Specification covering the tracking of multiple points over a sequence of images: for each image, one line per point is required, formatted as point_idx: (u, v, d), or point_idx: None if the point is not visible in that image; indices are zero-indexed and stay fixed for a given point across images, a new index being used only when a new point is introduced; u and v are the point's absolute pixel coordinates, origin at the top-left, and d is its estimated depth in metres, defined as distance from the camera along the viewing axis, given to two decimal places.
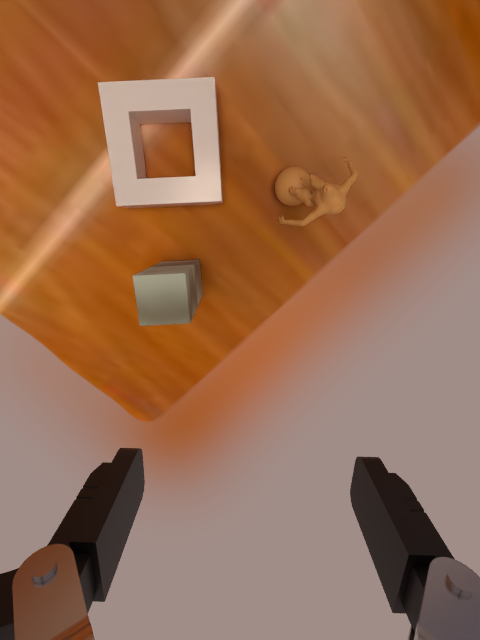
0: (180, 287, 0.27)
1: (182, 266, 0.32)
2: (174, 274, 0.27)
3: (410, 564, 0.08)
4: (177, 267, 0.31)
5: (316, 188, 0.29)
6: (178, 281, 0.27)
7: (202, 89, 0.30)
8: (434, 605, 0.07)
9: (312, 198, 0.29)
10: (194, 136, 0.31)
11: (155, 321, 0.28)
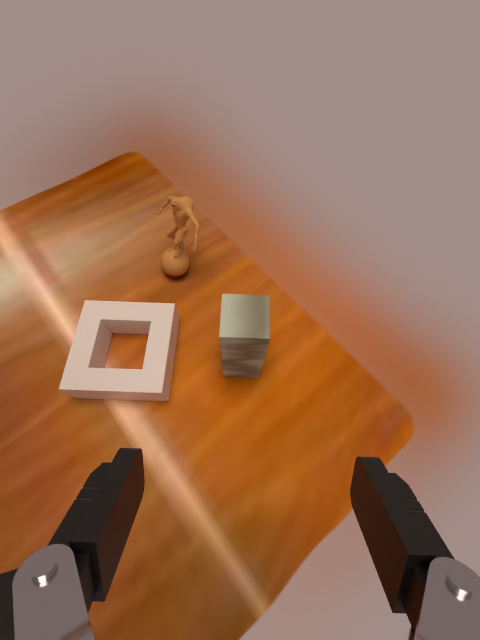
0: (234, 298, 0.30)
1: None
2: (222, 302, 0.29)
3: (410, 564, 0.08)
4: None
5: (176, 227, 0.39)
6: (228, 299, 0.29)
7: (90, 309, 0.38)
8: (434, 605, 0.07)
9: (181, 227, 0.39)
10: (121, 318, 0.37)
11: (266, 324, 0.28)
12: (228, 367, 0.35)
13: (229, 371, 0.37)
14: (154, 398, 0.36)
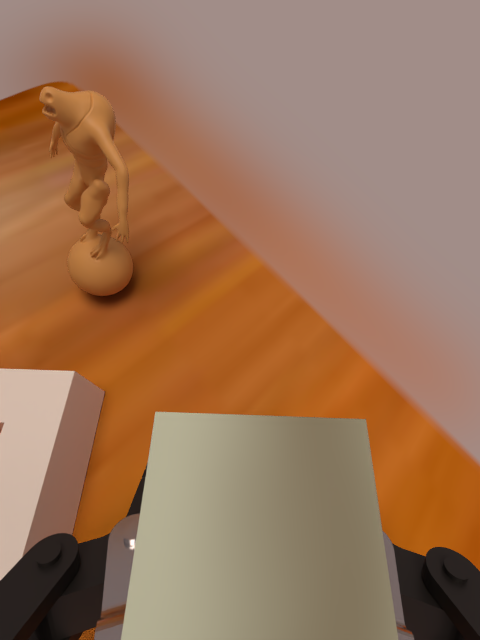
0: (209, 439, 0.06)
1: None
2: (152, 460, 0.06)
3: None
4: None
5: (82, 182, 0.16)
6: (182, 444, 0.06)
7: None
8: None
9: (93, 180, 0.15)
10: None
11: (374, 605, 0.05)
12: None
13: None
14: None
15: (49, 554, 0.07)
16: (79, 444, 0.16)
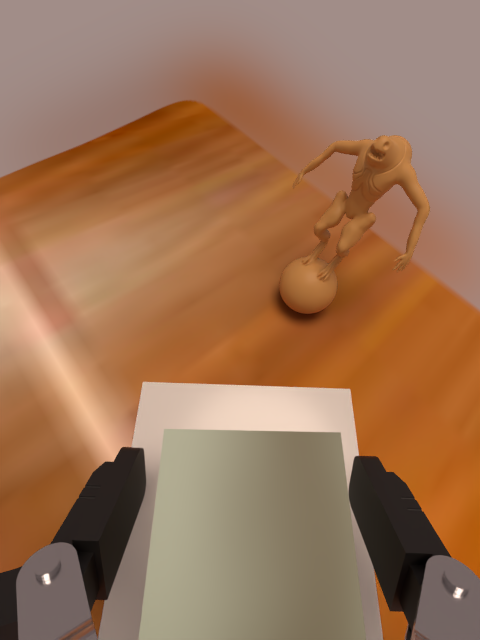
0: (210, 451, 0.08)
1: None
2: (162, 469, 0.08)
3: (407, 562, 0.08)
4: None
5: (343, 213, 0.18)
6: (187, 456, 0.08)
7: (157, 406, 0.16)
8: (430, 603, 0.07)
9: (363, 212, 0.17)
10: None
11: (344, 585, 0.07)
12: None
13: None
14: None
15: None
16: None
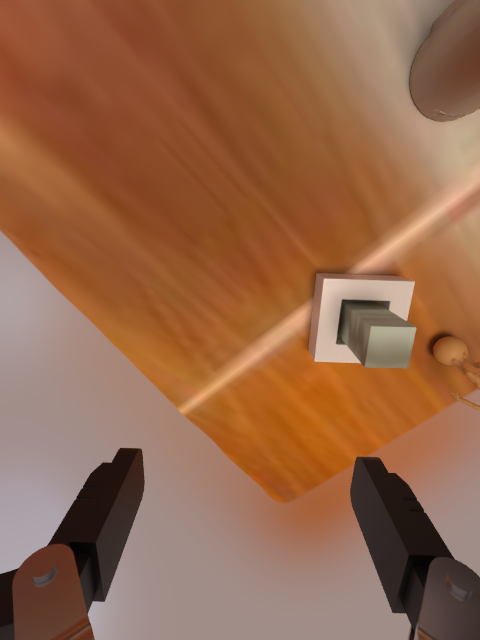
0: (408, 338, 0.31)
1: (383, 312, 0.36)
2: (406, 327, 0.31)
3: (410, 564, 0.08)
4: (382, 313, 0.35)
5: None
6: (408, 333, 0.31)
7: (403, 288, 0.38)
8: (434, 605, 0.07)
9: None
10: None
11: (379, 364, 0.32)
12: (344, 310, 0.39)
13: None
14: (311, 343, 0.43)
15: None
16: None
